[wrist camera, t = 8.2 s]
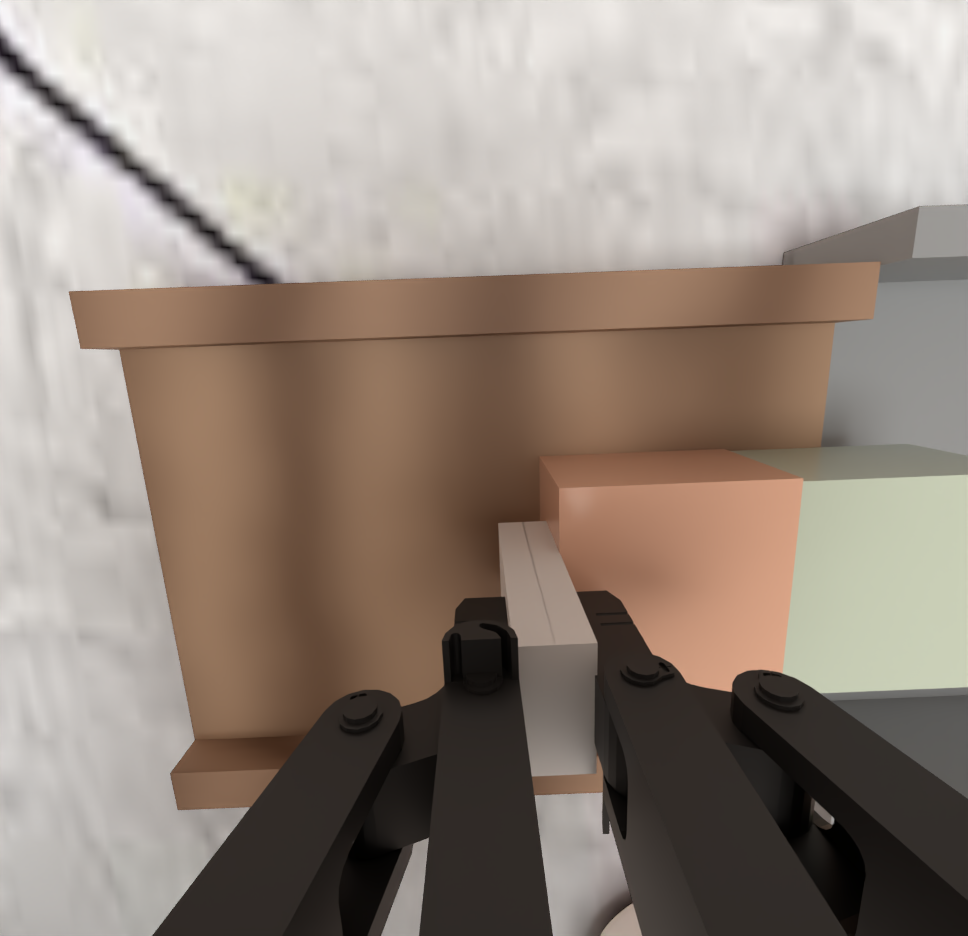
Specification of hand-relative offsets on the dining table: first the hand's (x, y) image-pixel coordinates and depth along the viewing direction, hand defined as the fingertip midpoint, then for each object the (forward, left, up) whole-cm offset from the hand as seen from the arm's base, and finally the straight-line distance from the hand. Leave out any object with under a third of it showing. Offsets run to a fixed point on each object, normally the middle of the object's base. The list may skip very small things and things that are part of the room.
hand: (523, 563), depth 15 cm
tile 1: (+10, 0, -2) cm, 10 cm away
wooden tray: (-1, 0, -5) cm, 5 cm away
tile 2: (+4, 0, -2) cm, 4 cm away
